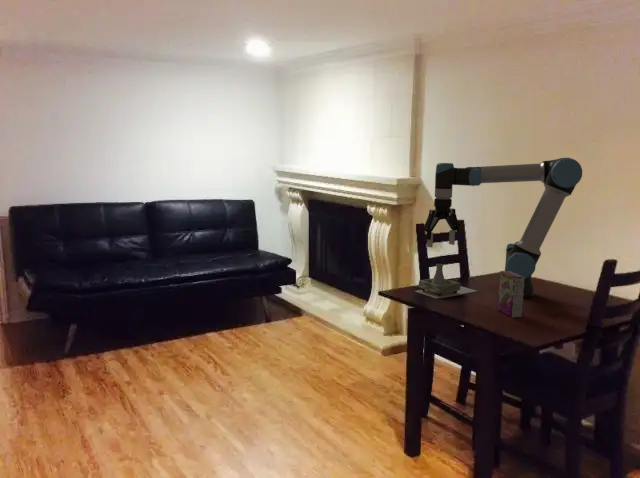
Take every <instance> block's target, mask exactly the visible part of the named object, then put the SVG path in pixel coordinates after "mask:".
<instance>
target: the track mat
mask: <svg viewBox="0 0 640 478" xmlns="http://www.w3.org/2000/svg"><path fill="white" fill-rule="evenodd" d="M414 293H417V294H420V295H423V296H427V297H430V298H432V299H435V300H436V299H437V300H438V299H443V298H449V297H454V296H460V295H467V294H473V293H478V290H476V289H472V288H468V287H465V286H462V285H460V290H458V291H457V293H454V292H453V291H452V292H446V293H442V294H441V296H439V295H437V293H436V292H432V291H429V290H426V289H425V291H423V290H421V289H418V290H414Z"/></svg>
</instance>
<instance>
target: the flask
mask: <svg viewBox="0 0 640 478" xmlns="http://www.w3.org/2000/svg"><path fill="white" fill-rule="evenodd" d="M435 266H436V270H435V274H434V276H433V280H432V284H435V285H439V286H441V285H446V282H445V279H446V278H445V276H444V272H443V268H444V264H442V263H436V264H435Z"/></svg>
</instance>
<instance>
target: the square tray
mask: <svg viewBox="0 0 640 478" xmlns="http://www.w3.org/2000/svg"><path fill="white" fill-rule="evenodd" d="M433 278H434V277H433ZM433 278H426V279H420V280H418V288H419V289H420V290H423V291H425V289H426V290H429V291H432V292H436V293H437V295H439V296H441V294H442V293H446V292H452V291H453V292H454V293H457V291H458V290H460V286H462V284H461V282H458V281H454V280H450V279H447V278H444V279H445V282H446V285H441V286H439V285H435V284H432V280H433Z"/></svg>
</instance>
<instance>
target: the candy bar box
mask: <svg viewBox="0 0 640 478" xmlns="http://www.w3.org/2000/svg"><path fill="white" fill-rule="evenodd" d="M524 283H525V277H523V276H521V275H518V274H516V273H514V272H511V271H505V270H502V271H499V285H498V297H497V298H498V299H497V301H498V302H497V310H498V311H499V312H501V313H502V314H503V315H507V316H508V317H509V318H512V319H516V318H523V306H524V298H523V297H524Z"/></svg>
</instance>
